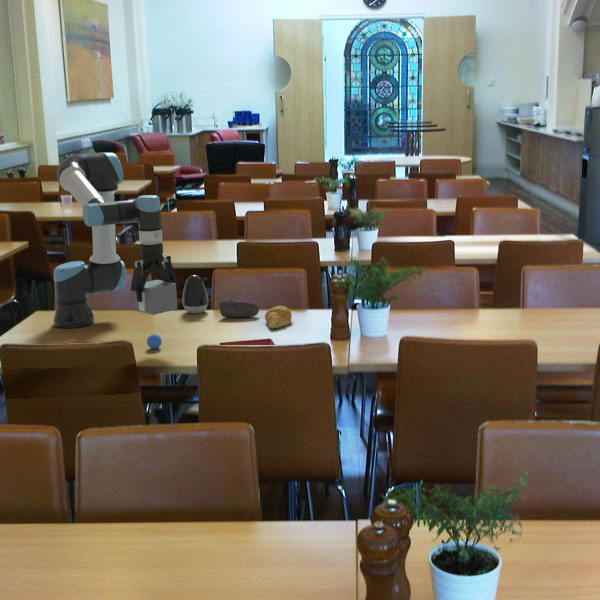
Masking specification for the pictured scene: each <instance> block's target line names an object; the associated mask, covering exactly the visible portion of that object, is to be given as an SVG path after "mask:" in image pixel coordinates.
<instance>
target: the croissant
mask: <svg viewBox="0 0 600 600" xmlns="http://www.w3.org/2000/svg"><path fill="white" fill-rule="evenodd" d="M292 317H293V314H292V311H291V309H290V308H289V307H288V306H285V305H276V306H273V307H271V308H269V309H268V310H267V311H266V312H265V314H264V320H265V323H266V324H267V323H268V324H267V325H268V327H269V329H271V330H273V329H274V328H276V329H280V328H283V327H282V326H284V327H286V326H285V325H287V324H289V325H290V324H291V323H292ZM287 326H288V325H287ZM279 327H280V328H279ZM274 330H275V329H274Z"/></svg>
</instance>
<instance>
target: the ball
mask: <svg viewBox="0 0 600 600" xmlns="http://www.w3.org/2000/svg"><path fill="white" fill-rule="evenodd" d="M162 341H163V340H162V337H161V336H160V335H159V334H155V333H153V334H150V335H148V337H147V339H146V345H147V347H149V348H150V349H152V350H156V349H159V348H160V347H161V346H162Z"/></svg>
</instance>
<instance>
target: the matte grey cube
mask: <svg viewBox="0 0 600 600" xmlns="http://www.w3.org/2000/svg"><path fill="white" fill-rule="evenodd" d="M142 292H145V303H146V311H145V312H144V311H139V302H138V301H137V295H136V292H135V291H132V293H133V294H132V295H133V306H134V311H135V312H139V313H142V314H147V315H152V316H154V315H159V314H163V313H166V312H171V311H175V310H177V309H178V297H177V295H178V294H177V282H176V283H171V282H166V281H164V280H161V279H154V280H150V281H146V283H145V286H144V289H143V291H142Z"/></svg>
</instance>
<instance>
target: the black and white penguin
mask: <svg viewBox="0 0 600 600" xmlns="http://www.w3.org/2000/svg"><path fill="white" fill-rule="evenodd" d="M207 279H208V277H207V276H205V277H204V276H203V277H202V278H201V277H200V276H199V275H197V274H192V275H191V274H190V276H189V277H188V278H187V279H186V281H185V283H184V288H183V291H182V306H183V308H184V310H185V311H186V312H187V313H188V314H191V315H198V314H202V313H204V312H205V311H206V310H207V308H208V304H209V298H208V292H207V288H206V286H205V283H204V282H205V281H206V280H207Z"/></svg>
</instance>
